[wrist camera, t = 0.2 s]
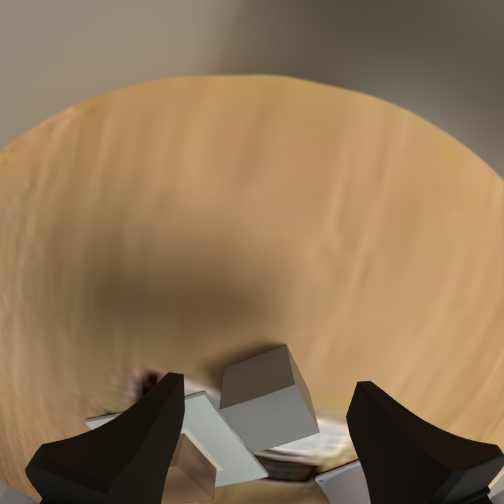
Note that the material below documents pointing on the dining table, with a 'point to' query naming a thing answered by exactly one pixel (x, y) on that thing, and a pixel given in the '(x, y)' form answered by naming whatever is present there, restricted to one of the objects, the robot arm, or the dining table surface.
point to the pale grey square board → (212, 440)
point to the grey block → (267, 400)
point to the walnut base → (189, 475)
